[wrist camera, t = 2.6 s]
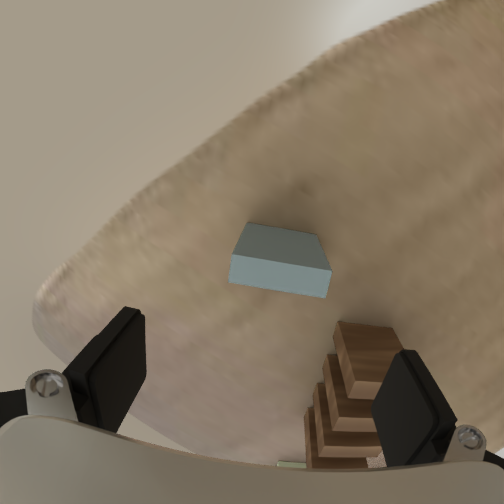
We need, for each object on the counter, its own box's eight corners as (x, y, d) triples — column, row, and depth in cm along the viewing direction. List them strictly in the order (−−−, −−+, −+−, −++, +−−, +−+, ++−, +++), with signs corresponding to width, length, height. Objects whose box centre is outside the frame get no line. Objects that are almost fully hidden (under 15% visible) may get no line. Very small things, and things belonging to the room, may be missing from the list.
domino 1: (247, 222, 27) (231, 254, 18) (315, 234, 27) (332, 271, 18) (244, 242, 28) (228, 282, 19) (311, 254, 27) (325, 298, 19)
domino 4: (317, 383, 31) (324, 445, 23) (367, 387, 31) (384, 446, 23) (312, 394, 32) (318, 456, 23) (361, 398, 32) (377, 456, 23)
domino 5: (307, 407, 33) (311, 468, 24) (355, 411, 32) (368, 468, 24) (303, 417, 33) (306, 477, 25) (350, 420, 33) (361, 477, 24)
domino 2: (337, 321, 29) (355, 380, 20) (392, 328, 29) (422, 383, 20) (332, 336, 30) (347, 398, 21) (386, 342, 29) (413, 400, 21)
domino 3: (326, 354, 30) (338, 417, 22) (379, 359, 30) (402, 418, 21) (322, 367, 31) (332, 430, 22) (373, 372, 31) (394, 431, 22)
